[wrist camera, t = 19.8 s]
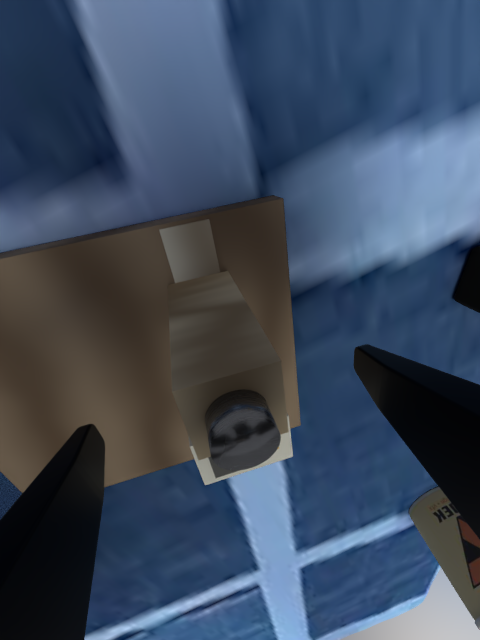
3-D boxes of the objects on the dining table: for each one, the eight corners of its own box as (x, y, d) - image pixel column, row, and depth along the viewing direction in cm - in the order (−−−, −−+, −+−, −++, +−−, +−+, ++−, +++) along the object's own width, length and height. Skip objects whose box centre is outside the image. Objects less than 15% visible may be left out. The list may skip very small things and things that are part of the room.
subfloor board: (45, 487, 22) (37, 509, 20) (-145, 283, 13) (-181, 297, 12) (293, 411, 24) (301, 426, 23) (273, 195, 15) (283, 198, 14)
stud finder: (200, 445, 21) (205, 487, 18) (185, 408, 19) (189, 449, 16) (277, 421, 22) (293, 458, 19) (272, 382, 20) (289, 417, 17)
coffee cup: (471, 471, 38) (584, 585, 28) (454, 507, 43) (545, 616, 33) (408, 493, 37) (503, 620, 27) (398, 528, 42) (474, 647, 31)
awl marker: (183, 335, 16) (202, 496, 9) (167, 284, 15) (173, 425, 7) (237, 321, 17) (302, 462, 9) (227, 270, 15) (297, 388, 7)
